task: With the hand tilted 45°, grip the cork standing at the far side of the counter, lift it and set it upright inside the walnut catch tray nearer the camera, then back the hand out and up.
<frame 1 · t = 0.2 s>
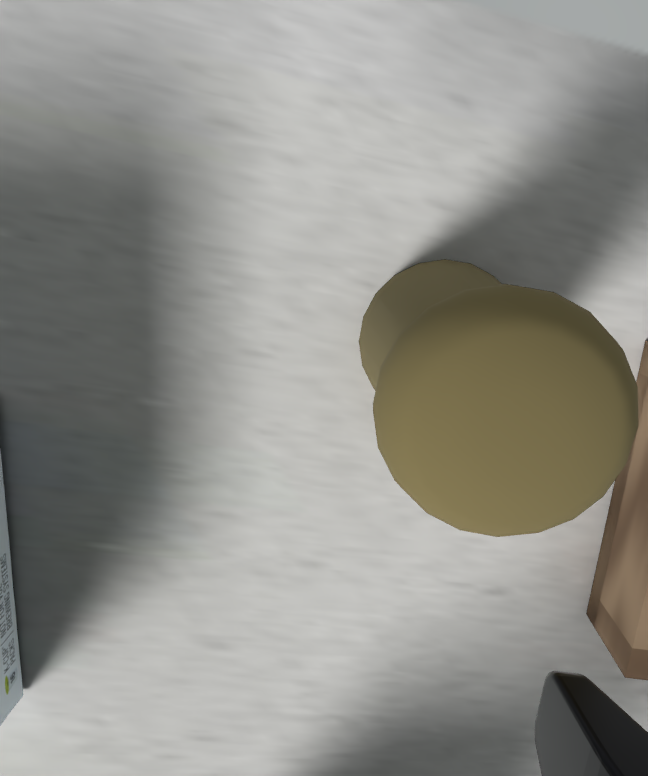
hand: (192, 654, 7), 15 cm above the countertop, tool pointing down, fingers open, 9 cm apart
cork: (439, 341, 21), on the countertop
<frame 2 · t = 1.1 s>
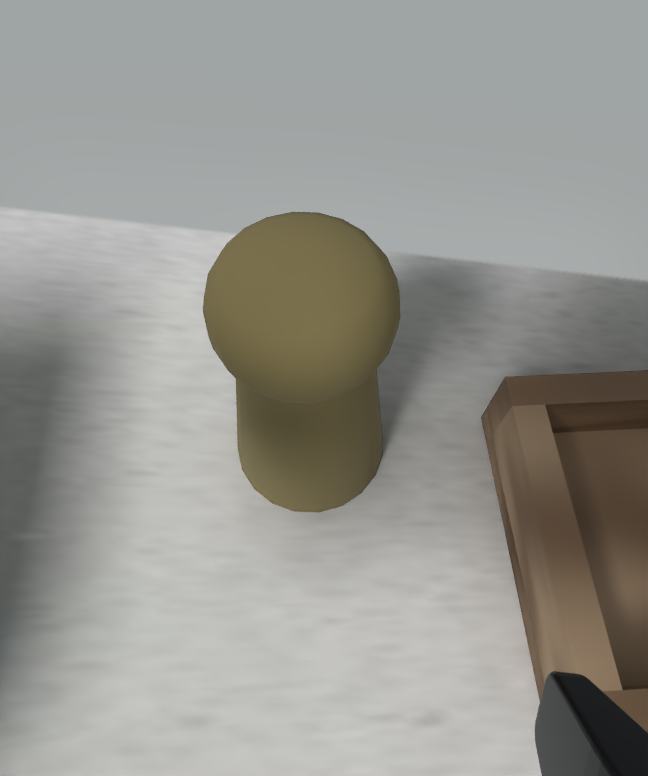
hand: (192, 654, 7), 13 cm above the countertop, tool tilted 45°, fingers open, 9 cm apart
cork: (310, 442, 23), on the countertop
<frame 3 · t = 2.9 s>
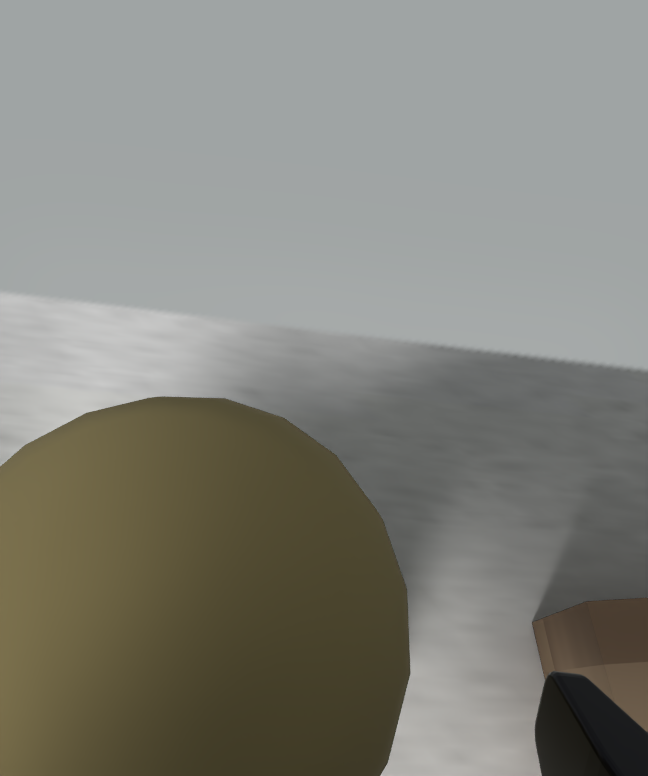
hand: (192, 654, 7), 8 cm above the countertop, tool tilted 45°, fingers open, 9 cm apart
cork: (259, 669, 14), on the countertop
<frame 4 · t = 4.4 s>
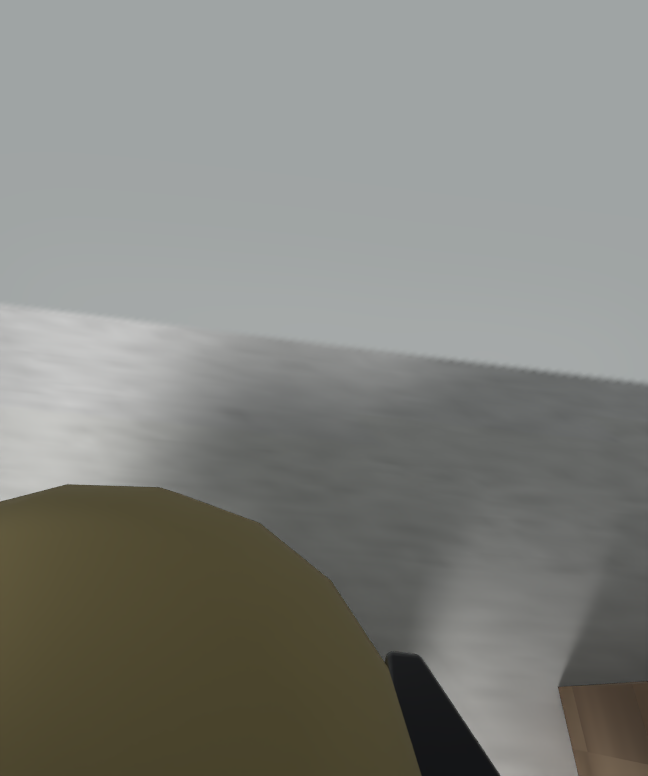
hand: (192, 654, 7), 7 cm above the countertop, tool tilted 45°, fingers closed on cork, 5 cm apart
cork: (242, 743, 12), on the countertop, touching gripper
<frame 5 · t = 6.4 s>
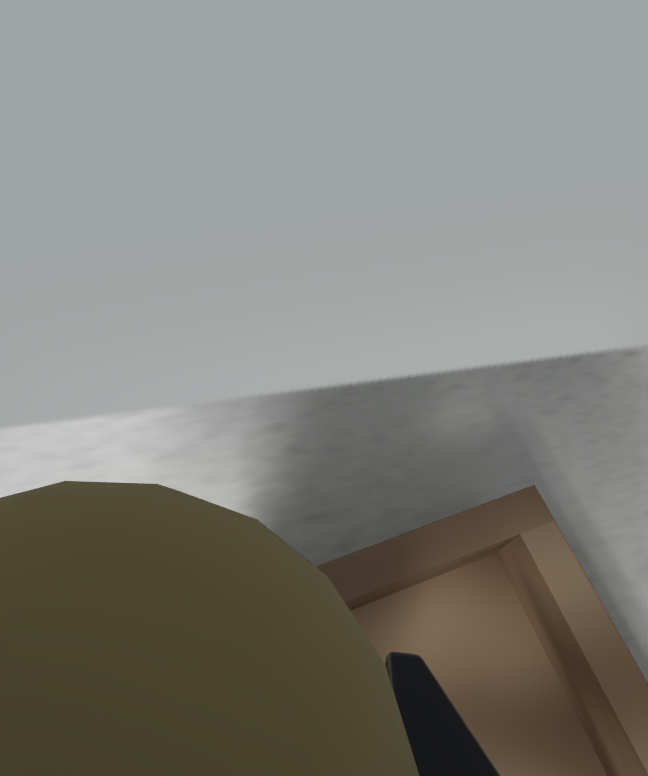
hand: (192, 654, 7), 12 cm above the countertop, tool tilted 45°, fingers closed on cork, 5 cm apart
catch tray: (429, 750, 17), on the countertop
cork: (239, 740, 12), point 5 cm above the countertop, touching gripper
when the fingers open (8 cm above the countertop, at t = 8.5 s): cork drops 1 cm, resting on catch tray.
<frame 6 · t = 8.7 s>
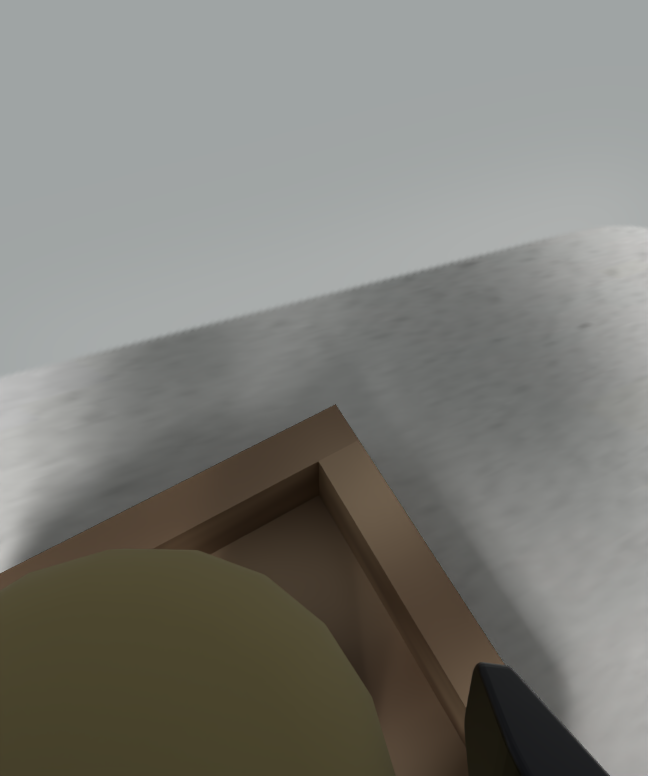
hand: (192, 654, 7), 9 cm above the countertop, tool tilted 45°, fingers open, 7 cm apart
catch tray: (252, 736, 14), on the countertop
cork: (246, 743, 13), point 1 cm above the countertop, touching catch tray
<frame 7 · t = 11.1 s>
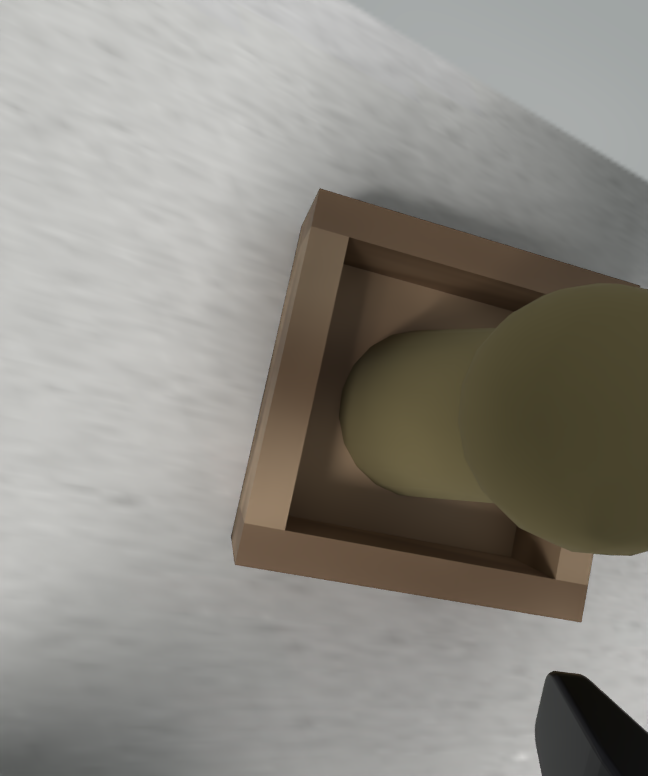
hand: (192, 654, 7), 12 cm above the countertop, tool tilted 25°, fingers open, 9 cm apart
catch tray: (415, 412, 21), on the countertop
cork: (418, 413, 20), point 1 cm above the countertop, touching catch tray
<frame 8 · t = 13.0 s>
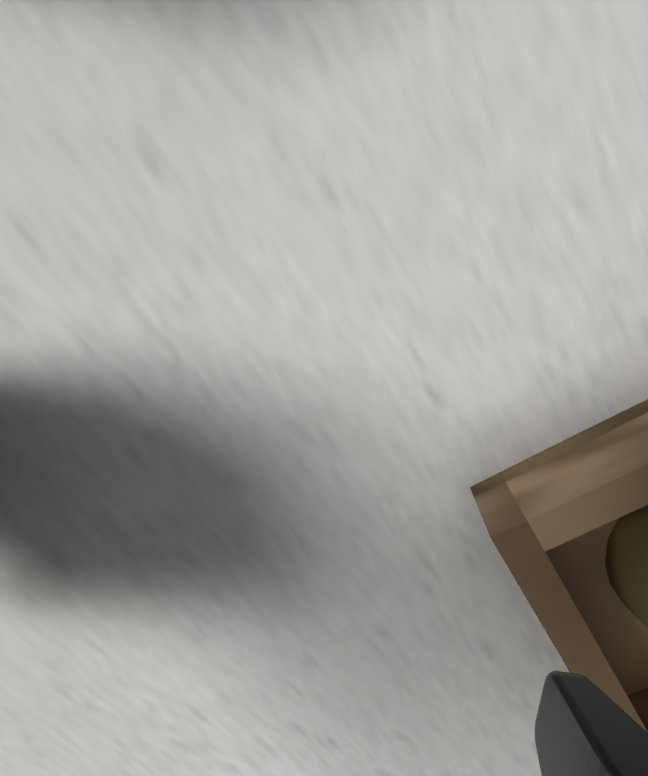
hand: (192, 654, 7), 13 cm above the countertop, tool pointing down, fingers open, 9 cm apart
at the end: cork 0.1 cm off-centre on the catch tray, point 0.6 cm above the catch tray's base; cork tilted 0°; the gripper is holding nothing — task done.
